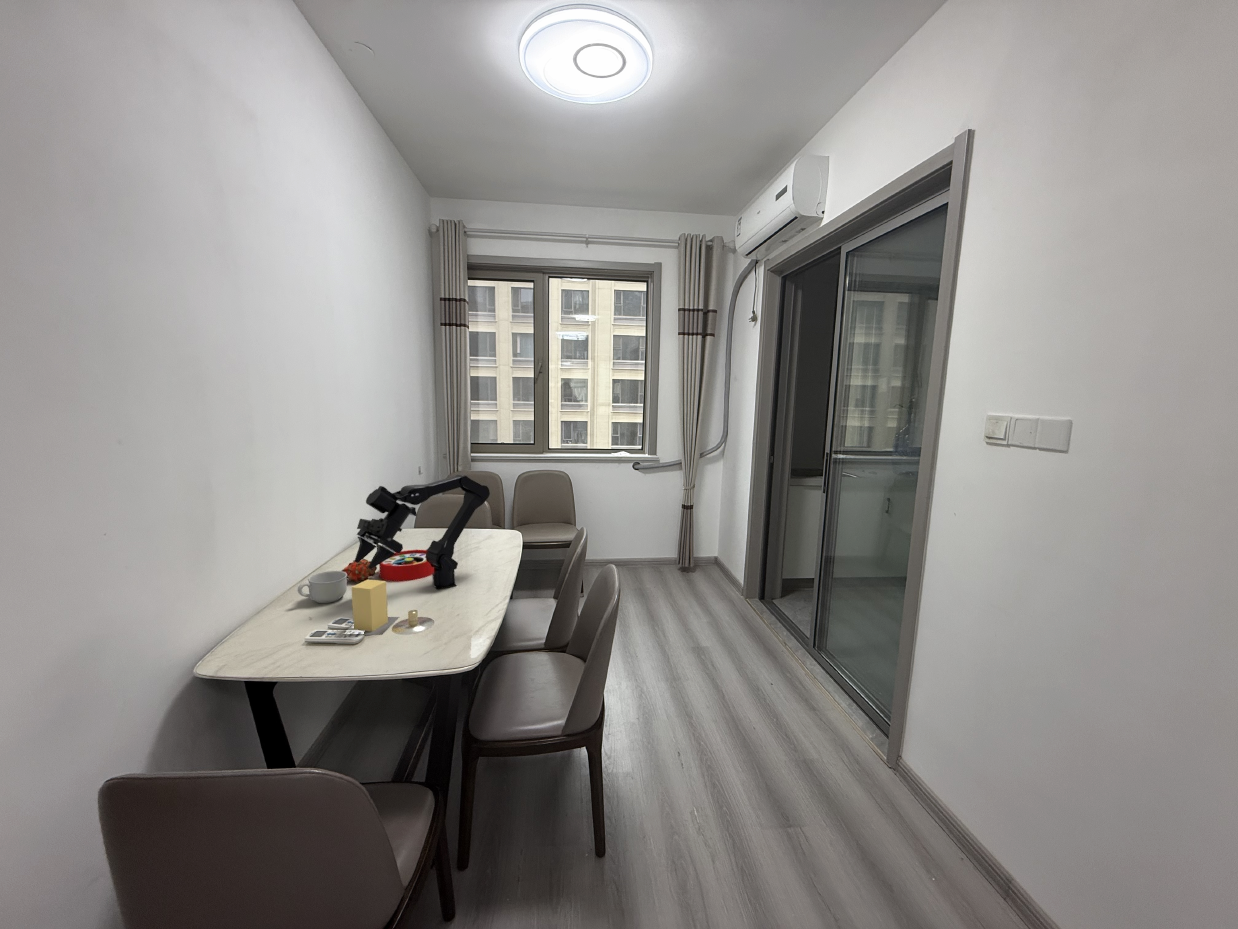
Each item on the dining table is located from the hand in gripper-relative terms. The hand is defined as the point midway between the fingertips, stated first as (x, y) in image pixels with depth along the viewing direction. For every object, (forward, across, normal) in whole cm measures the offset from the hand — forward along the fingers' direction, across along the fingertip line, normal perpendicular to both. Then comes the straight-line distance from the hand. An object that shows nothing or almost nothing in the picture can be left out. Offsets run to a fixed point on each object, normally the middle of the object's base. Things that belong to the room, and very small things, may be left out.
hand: (362, 565), depth 145 cm
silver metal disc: (+8, +24, +11) cm, 27 cm away
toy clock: (-6, -22, +29) cm, 37 cm away
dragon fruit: (+5, -27, +17) cm, 32 cm away
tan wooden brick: (+13, +15, +5) cm, 20 cm away
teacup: (+14, -17, +5) cm, 23 cm away
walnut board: (+11, +19, +8) cm, 24 cm away
